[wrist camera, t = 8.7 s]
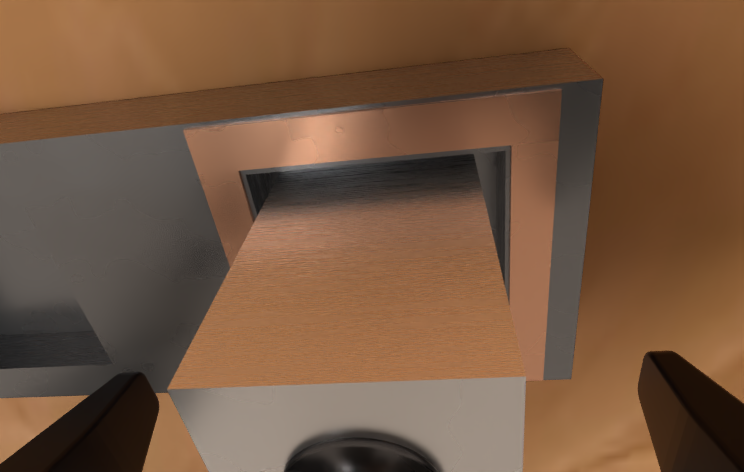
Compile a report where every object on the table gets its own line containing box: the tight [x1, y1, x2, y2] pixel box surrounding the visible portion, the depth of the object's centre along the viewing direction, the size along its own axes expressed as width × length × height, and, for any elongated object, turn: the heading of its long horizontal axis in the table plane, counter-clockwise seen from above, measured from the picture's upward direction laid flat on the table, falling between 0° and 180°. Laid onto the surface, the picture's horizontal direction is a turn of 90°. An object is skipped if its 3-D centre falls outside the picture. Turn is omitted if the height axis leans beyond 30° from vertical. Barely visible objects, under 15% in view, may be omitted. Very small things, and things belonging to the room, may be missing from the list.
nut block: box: [167, 154, 526, 472], centre depth 10 cm, size 4×4×7 cm
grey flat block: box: [0, 48, 603, 398], centre depth 14 cm, size 20×8×3 cm, turn 97°
